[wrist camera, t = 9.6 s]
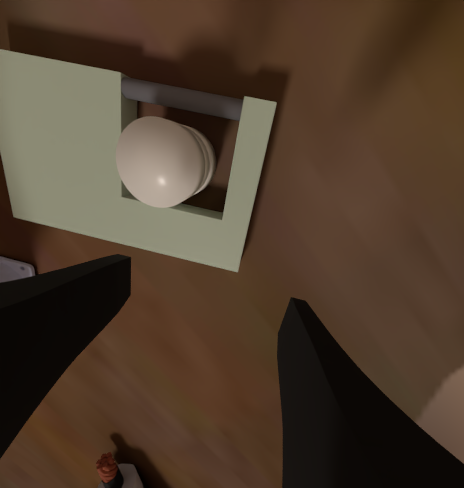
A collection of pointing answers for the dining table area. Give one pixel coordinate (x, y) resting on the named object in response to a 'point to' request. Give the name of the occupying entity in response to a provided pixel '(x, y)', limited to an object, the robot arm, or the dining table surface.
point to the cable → (117, 474)
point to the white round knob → (164, 161)
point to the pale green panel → (104, 158)
